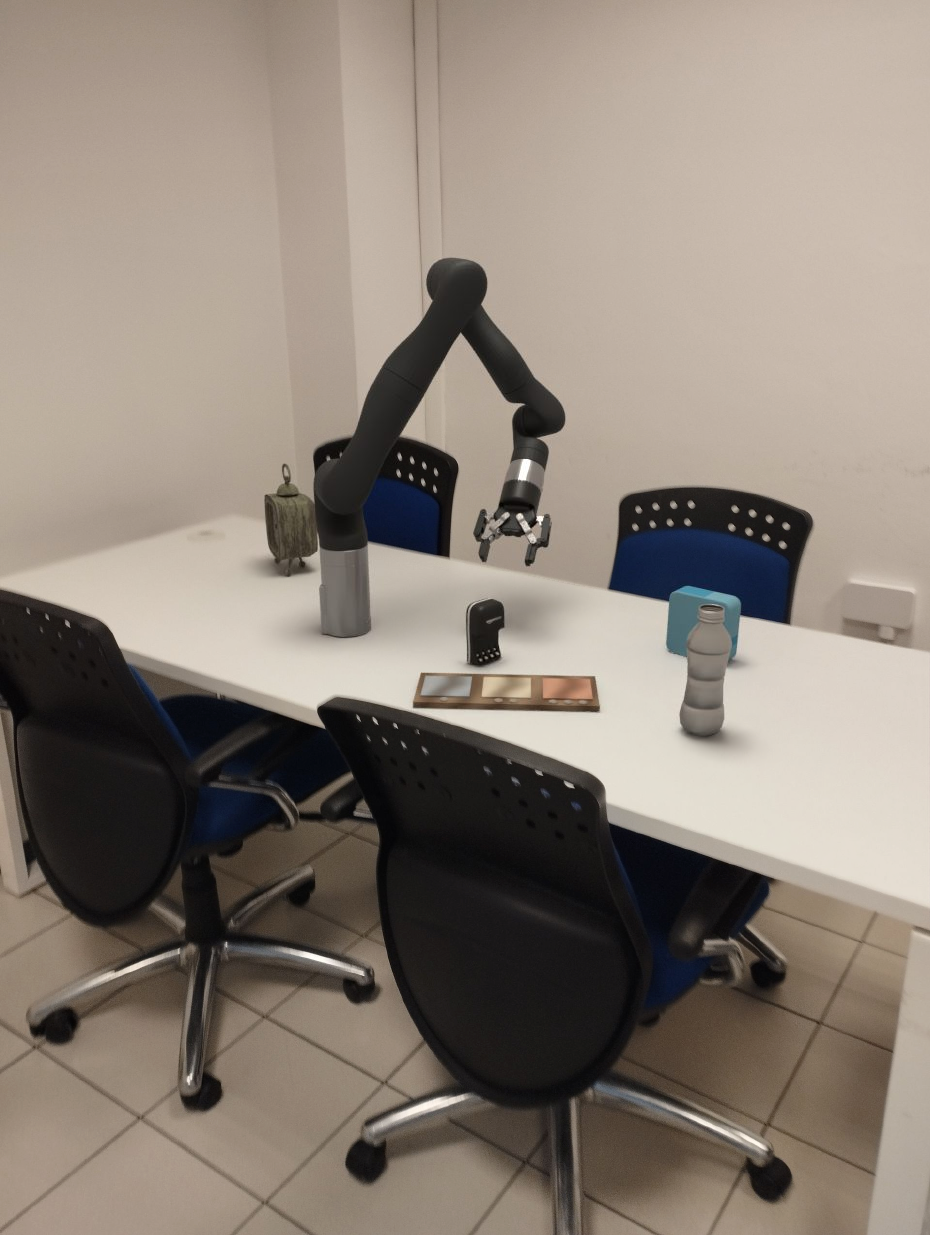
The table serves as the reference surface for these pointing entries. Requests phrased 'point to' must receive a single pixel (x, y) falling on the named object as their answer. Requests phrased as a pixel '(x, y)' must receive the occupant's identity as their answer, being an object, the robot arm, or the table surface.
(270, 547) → the tabletop clock
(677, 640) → the data package
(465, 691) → the tile board
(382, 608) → the table surface
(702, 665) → the plastic bottle
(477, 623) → the battery charger
